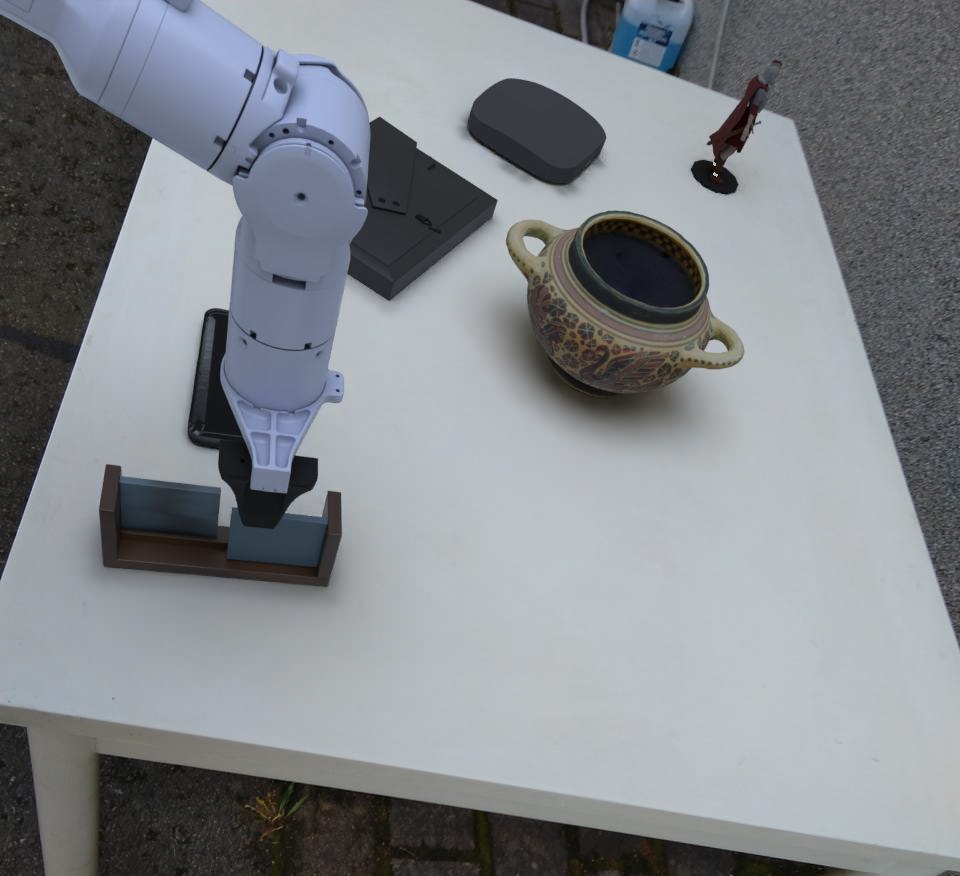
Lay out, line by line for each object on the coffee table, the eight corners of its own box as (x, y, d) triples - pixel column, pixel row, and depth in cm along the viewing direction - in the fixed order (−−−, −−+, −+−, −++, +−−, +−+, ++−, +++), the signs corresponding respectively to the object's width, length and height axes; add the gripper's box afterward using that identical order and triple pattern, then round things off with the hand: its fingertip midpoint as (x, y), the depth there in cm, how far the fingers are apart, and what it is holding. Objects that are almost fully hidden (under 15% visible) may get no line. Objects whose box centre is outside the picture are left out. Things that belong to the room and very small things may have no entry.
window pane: (317, 558, 71) (334, 486, 64) (316, 571, 70) (334, 500, 63) (227, 549, 69) (235, 474, 62) (226, 562, 68) (234, 489, 61)
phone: (186, 433, 73) (205, 305, 81) (186, 443, 74) (205, 315, 82) (288, 449, 75) (297, 323, 83) (286, 459, 76) (295, 332, 84)
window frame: (327, 544, 73) (341, 491, 68) (328, 586, 71) (342, 535, 66) (109, 522, 68) (105, 463, 63) (103, 566, 66) (98, 509, 61)
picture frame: (374, 141, 103) (256, 213, 91) (379, 116, 100) (259, 187, 88) (492, 217, 102) (389, 300, 90) (500, 193, 100) (395, 276, 87)
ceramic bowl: (448, 351, 93) (471, 242, 79) (539, 242, 99) (575, 123, 85) (655, 486, 91) (716, 399, 77) (734, 366, 98) (803, 266, 84)
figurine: (738, 201, 119) (805, 84, 107) (686, 182, 118) (748, 62, 106) (736, 172, 123) (800, 56, 111) (685, 153, 122) (745, 34, 109)
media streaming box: (454, 129, 109) (461, 104, 106) (511, 89, 117) (518, 65, 115) (559, 194, 108) (569, 171, 105) (609, 149, 116) (618, 126, 114)
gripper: (360, 422, 48) (321, 573, 59) (355, 241, 55) (321, 405, 66) (218, 402, 46) (205, 562, 57) (232, 217, 53) (219, 390, 64)
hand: (260, 477), depth 61 cm, fingers open, 7 cm apart
